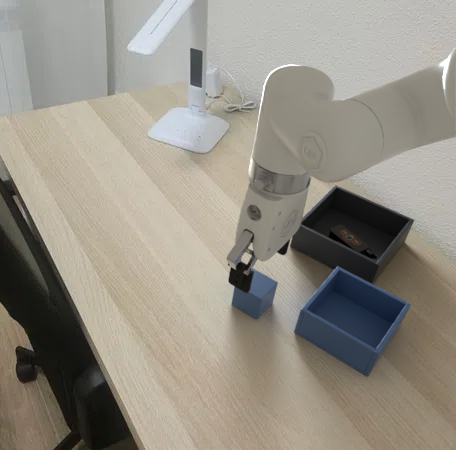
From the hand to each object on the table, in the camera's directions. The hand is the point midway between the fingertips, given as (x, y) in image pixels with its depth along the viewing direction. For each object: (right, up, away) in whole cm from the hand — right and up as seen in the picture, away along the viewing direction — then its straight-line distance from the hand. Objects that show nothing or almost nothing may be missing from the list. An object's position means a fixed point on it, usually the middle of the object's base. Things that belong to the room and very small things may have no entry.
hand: (257, 267), depth 78 cm
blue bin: (+13, -9, +1) cm, 16 cm away
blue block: (0, -6, +5) cm, 7 cm away
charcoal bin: (+18, +3, +15) cm, 24 cm away
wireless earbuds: (+18, +1, +13) cm, 22 cm away
